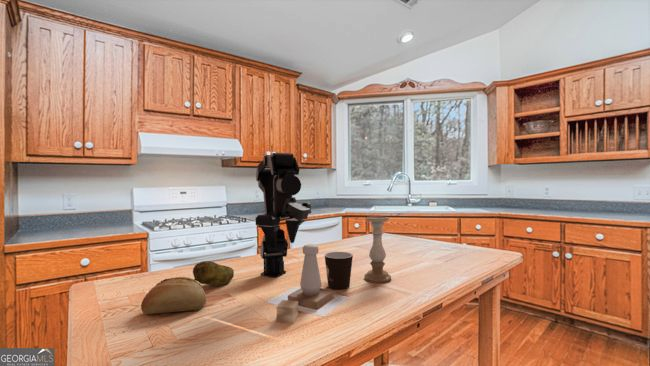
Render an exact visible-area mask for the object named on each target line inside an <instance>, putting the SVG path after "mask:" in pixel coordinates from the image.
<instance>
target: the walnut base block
mask: <svg viewBox="0 0 650 366" xmlns="http://www.w3.org/2000/svg"><path fill="white" fill-rule="evenodd" d="M334 294H335V290H333V289H328V288H327V289H326V288H322V287H321V288H320V290H319V292H318V294H317V295H313V296H309V295H305V294H304V293H303V291H302V289H299V290H297V291H295V292H293V293H291V294H290V295H288V300H289V301H298V306H303V307H307V308H311V309H316V310H317V309H319V308H320V307H322V306H323V305H324V304H326V303H327V302H329V301H330V300H331V299H333V298H334Z"/></svg>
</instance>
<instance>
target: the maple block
mask: <svg viewBox="0 0 650 366" xmlns="http://www.w3.org/2000/svg"><path fill="white" fill-rule="evenodd" d="M298 317H299V311H298V301H289V300H282V301H281V302H280V303H279V304H278V306H277V305H276V323H287V324H294V323H295V322H296V320H297V318H298Z"/></svg>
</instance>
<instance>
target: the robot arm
mask: <svg viewBox="0 0 650 366" xmlns="http://www.w3.org/2000/svg"><path fill="white" fill-rule="evenodd" d="M266 167H269V168H266ZM299 174H300V166H299V163H298V161H297V158H296V156H295V155H294V153H291V152H272V153H271V154H266V155H263V159H262V161H261V162H260V163H258V165H257V166H256V174H255V179H256V182H257V186H258V188H259V189H260V190H261V192H262V193H263V205H264V213H262V214H257V215H256V216H255V226H258V228H260V229H261V231H262V232H263V233H264V234H263V237H262V240H261V243H260V248H259V251H260V252H259V255H260V258H261V259H263V272H261V273H260V275H261V276H267V277H273V278H277V277H279V276H281V275H283V274H286V273H287V271H286V270H285V260H284V258H285V257H287V256H288V248H289V243H290V244H294V243H295V239H296V237H297V234H298V230H299V228H300V226H301V225H302V224H303V223H305V222H306V220H308V216H309V215H310V214H311V213H312V206H311V203H310V202H308V201H307V202H306V201H305V202H302V203H297V199H296V195H297V194H298V193H299V192H300V191H301V189H302V183H301V180H300V178H299V177H298V176H299ZM296 175H297V176H296ZM294 196H295V197H294ZM282 221H285V225H286V230H287V235H288V238H289V242H288V240H287V238H286V236H285V235H286V234H285V231H284V229H282V228H281V225H280V223H281V222H282Z"/></svg>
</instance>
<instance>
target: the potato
mask: <svg viewBox="0 0 650 366" xmlns="http://www.w3.org/2000/svg"><path fill="white" fill-rule="evenodd" d="M192 274H193V278H194V280H196V281H197V282H198V283H199V284H200V285H210V286H215V287H218V286H223V285H225V284H228V283H229V282H230V281H231V280H233V279H234V276H235V275H234V274H235V271H234V269H233V268H232V267H230V266H227V265H223V264H218V263H216V262H214V261H211V260H204V261H200V262H198V263H196V264H194V267H193V268H192Z"/></svg>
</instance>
